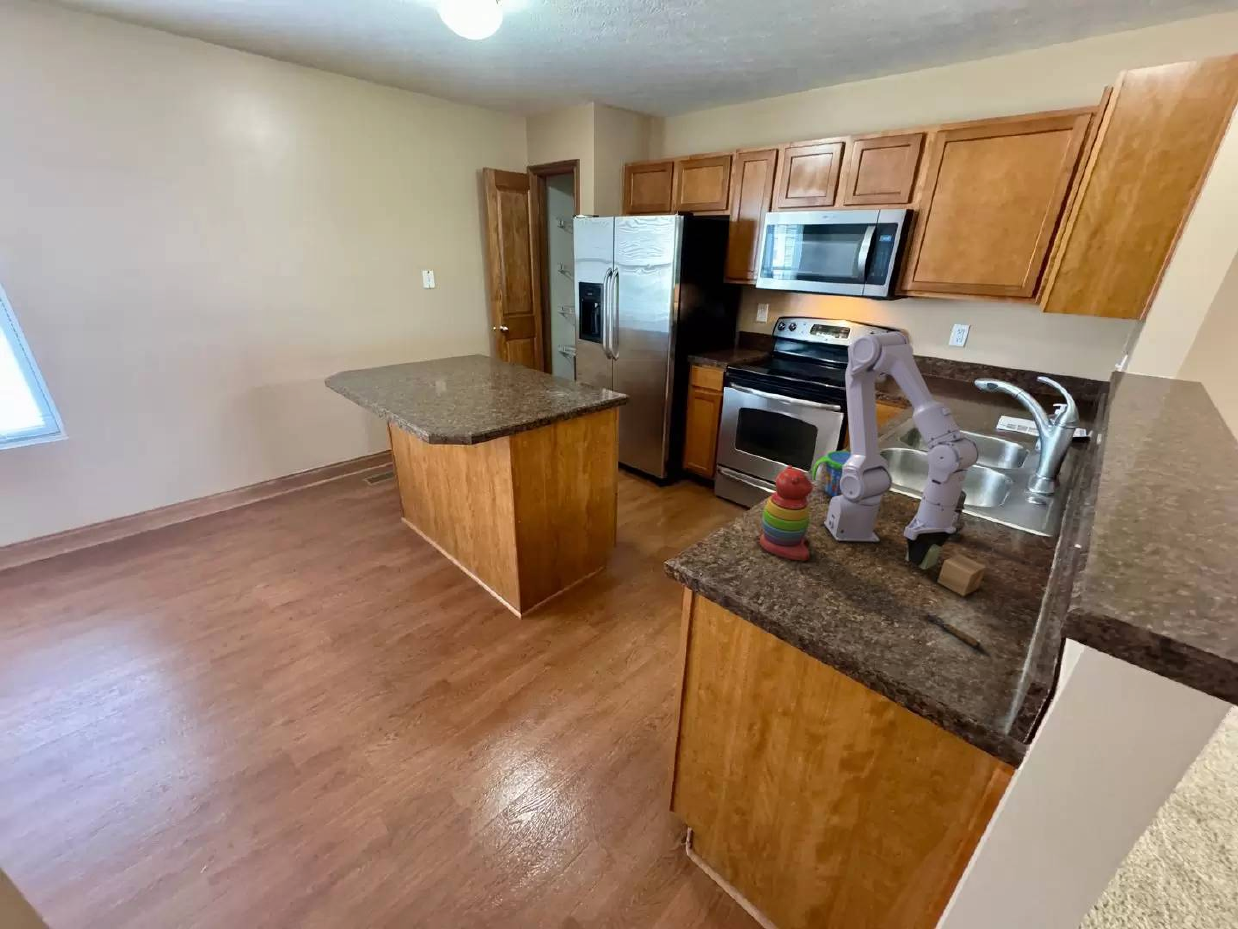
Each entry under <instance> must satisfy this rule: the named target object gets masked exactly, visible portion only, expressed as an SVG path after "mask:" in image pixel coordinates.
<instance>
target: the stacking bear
mask: <svg viewBox="0 0 1238 929" xmlns="http://www.w3.org/2000/svg"><path fill="white" fill-rule="evenodd" d="M775 490H776V491H774V492H773V493H772V494H771V496H770V497H769V498H768V499H767V501H766V504H765V506H764V509H763V511H762V518H761V525H762V526H761V527H762V532H763V533H762V534H761V535H760V537H759V544H760V546H761V547H762V549H764V550H765V551H766V552H768V553H771V554H773V555H775V556H778V557H780V558H783V559H786V560H787V559H788V560H792V561H801V562H805V561H807V560H809V559H810V550H809V549H808V548H807V546H806V545H805V544H804V543H806V540H807V537H806V533H807V531H808V528H809V525H810V507H809V500H808V498H807V497H808V496H809V495H810V494H811V493H812V492H813V490H814V484H813V482H812V481H810V480H809V479H808V477H807V475H806V474H805V472H803V471H802V470H800V469H797V468H793V466H792V465H787V467H786V468H785V469H784V470H782V471H781V472H780V473H779V474H778V475H777V476H776V479H775Z"/></svg>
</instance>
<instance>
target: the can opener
mask: <svg viewBox="0 0 1238 929" xmlns="http://www.w3.org/2000/svg"><path fill="white" fill-rule="evenodd" d="M927 614H928V615H927V619H928V620H931V621H933V623H935V624H937V625H939V626H943V628H944V629H945V630H946V631H948V632H950V633H951V634H953V635H955V636H957V637H958V638H959V639H961V640H962V641H963V642H965V643H966V644H968V645H970V646H972V647H973V648H976V649H978V648H979V647H980V645H981V642H980V641H978V640H977V639H975V638H974V637H972V636H970V635H969V634H967V633H965V632H963V631H961V630H959V629H957V627H955V626H953V625H951V624H949V623H945V620H943V619H942V618H941V617H939V616H937V615H935V614H932V613H930V612H927Z"/></svg>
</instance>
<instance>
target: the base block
mask: <svg viewBox="0 0 1238 929" xmlns="http://www.w3.org/2000/svg"><path fill="white" fill-rule="evenodd" d="M985 570H986V566H985V565H984V564H981V563H979V562H977V561H975V560H972V559H970V558H968V557H966V556H964V555H962V554H960V553H957V554H955V555H954V556H951V557H949V558H947V559H945V560H943V564H942V567H941V569H940V573H939V575H938V578H937V583H938V584H940V585H942V586H944V587H945V588H947V589H949V590H951V591H953V592H954V593H956V594H958V595H960V596H962V597H965V596H967V595H969V594H971V593H973V592H974V591H976V590H978V589H979V587H980V584H981V581H982V579H983V576H984V573H985Z"/></svg>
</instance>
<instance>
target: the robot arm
mask: <svg viewBox="0 0 1238 929" xmlns="http://www.w3.org/2000/svg"><path fill="white" fill-rule="evenodd" d="M847 354H848V355H847V356H848V362H847V367H846V369H845V374H844V375H845V376H844V377H845V379H844V380H845V392H846V405H847V421H848V436H849V448H850V449H849V450H850V452H851V456H850V458H849V459H848V460H847V461H846V463H845V464H844V465H843V467H842V477H841V480H840V489H841V492H842V493H843V495H840V496H835V497H833V496H832V498H831V500H830V502H829V506H828V509H827V510H828V511H827V515H826V520H825V521H824V522H823V524H824V525H825V526H826V528H827V529H828V530H829V532H830V534H831V535H832V536H833V537H834V539H835V540H836V541H838V542H871V543H872V542H874V543H875V542H880V538H879V537H878V536H877V534H876V533H875V532H874V528H875V525H876V520H877V516H878V512H879V508H880V505H881V501H882V499H883V497H884V494H886V493H889V491H890V490H891V489H892V487H893V477H892V474H891V472H890V469H889V467H888V461H887V460H886V458H884V457H883V456H882V455H881V454H880V449H879V448H880V447H879V445H880V444H879V432H878V419H877V418H878V416H877V402H876V386H875V381H876V380H877V379H878V378H879V377H880V376H881V375H882V373H883V374H885V375H890V376H891V377H892V378H893V379H894V380H895V383H896V384H897V385H898V387H899V389H900V390H901V391H902V393H903V394H904V396H905V397H906V399H907V400H908V402H909V403H910V405H911V407H912V408H913V413H912V416H911V420H912V422H913V423H914V425H915V427H916V429H917V430H918V432H919V434H920V435H921V438H922V439H923V441H924V443H925V445H926V446H927V448H928V450H929V451H927V453H926V461H927V465H928V468H929V470H928V473H927V479H926V481H925V485H924V490H923V492H922V496H921V498H920V502H919V506H918V508H917V513H916V514H915V515H914V517H913V518H912V520H911V521H910V524H908V525H906V526H905V527H904V530H903V537H905V539H906V543H907V552H908V559H909V561H908V562H909V563H911V564H912V565H914V566H917V567H918V566H920V565H921V563H922V562H923V560H924V558H925V556H926V554H927V552H928V550H929V549H930V548H931V546H932V545H933V544H936V545H938V546H940V547H941V548H943V546H944V545H945V544H946V542H948V541H949V540H948V539H949V538H950V537H951V536H953V535H954V534H955V532H956V528H955V527H953V526H952V524H953V523H955V522H957V519H958V515H959V514H958V513H956V512H954V511H955V508H956V505H957V502H958V499H959V496H960V493H961V490H962V491H963V486H964V483H965V479H966V477H967V474H968V471H969V470H968V469H969V468H970V467H973V466H974V465H976V463H977V462H978V460H979V457H980V450H979V447H978V445H977V442H976V441H975V440H973V439H972V438H969V437H966V436H965V434H964V433H963V432H962V431H960V429H959V427H958V425H957V424H956V422H955V420H954V418H953V417H952V413H953V412H952V410H951V408H950V407H946V405H945V403H943V402H939V401H937V400H934V398H933V397H932V394H931V393H930V392H931V391H930V390H929V388H928V386H927V384H926V381H925V380H924V378H923V376H922V373H921V372H920V370H919V368H918V366H917V363H916V361H915V359H914V348H913V346H912V345H911V344H910V343H909V341H908V337H906V335H905V334H904V333H902V332H900V331H890V332H882V333H881V332H880V333H863V334H860V335H859V336H857V337H856V338H855V339H854V341H853V342H851V344H850V345H849V346H848V347H847Z"/></svg>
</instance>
